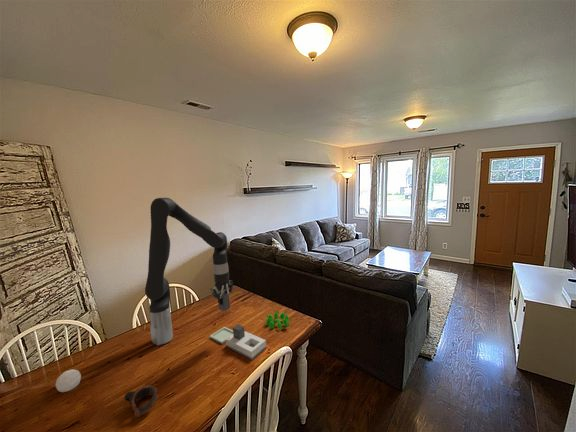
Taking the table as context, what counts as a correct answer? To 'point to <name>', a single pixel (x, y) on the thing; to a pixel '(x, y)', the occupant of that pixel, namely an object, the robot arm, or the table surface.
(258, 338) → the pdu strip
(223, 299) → the grey rectangular prism
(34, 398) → the table surface
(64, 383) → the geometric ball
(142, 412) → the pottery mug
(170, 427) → the table surface
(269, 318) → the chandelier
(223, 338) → the sage tray
